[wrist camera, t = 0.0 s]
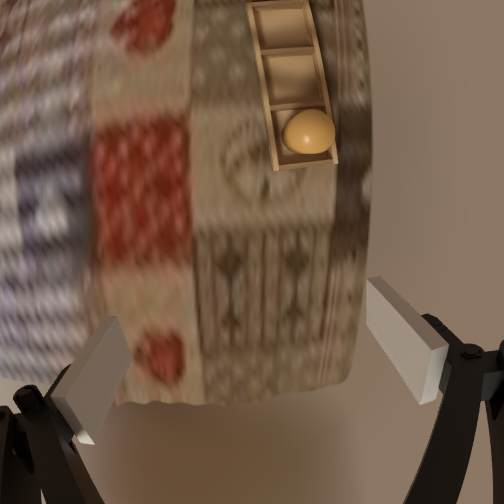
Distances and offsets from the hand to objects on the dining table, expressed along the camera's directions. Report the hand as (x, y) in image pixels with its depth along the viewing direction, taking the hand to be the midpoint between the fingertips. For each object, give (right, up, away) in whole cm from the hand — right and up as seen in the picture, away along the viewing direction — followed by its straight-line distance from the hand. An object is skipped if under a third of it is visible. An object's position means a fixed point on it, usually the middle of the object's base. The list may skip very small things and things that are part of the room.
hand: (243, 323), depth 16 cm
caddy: (+5, +26, +21) cm, 34 cm away
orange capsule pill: (+7, +19, +23) cm, 30 cm away
